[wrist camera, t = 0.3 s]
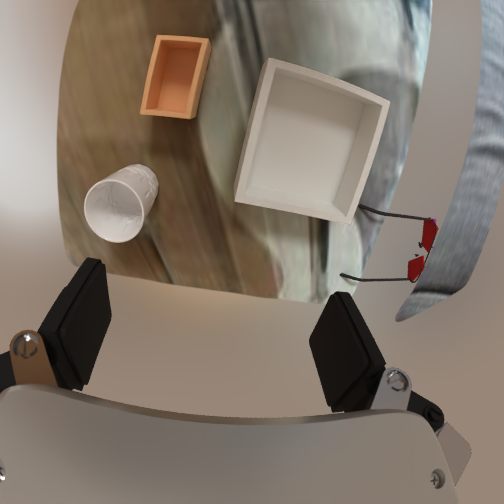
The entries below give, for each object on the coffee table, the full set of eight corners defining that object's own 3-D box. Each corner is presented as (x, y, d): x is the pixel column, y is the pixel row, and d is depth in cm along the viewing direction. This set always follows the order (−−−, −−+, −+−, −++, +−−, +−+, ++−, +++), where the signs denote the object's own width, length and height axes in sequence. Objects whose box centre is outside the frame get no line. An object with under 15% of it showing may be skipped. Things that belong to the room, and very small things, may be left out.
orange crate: (168, 44, 26) (157, 35, 21) (211, 48, 27) (208, 38, 22) (153, 112, 31) (140, 114, 26) (196, 116, 32) (189, 119, 27)
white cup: (170, 201, 38) (154, 233, 30) (125, 216, 39) (100, 249, 30) (152, 152, 34) (128, 169, 26) (106, 170, 34) (74, 193, 26)
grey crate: (262, 64, 29) (269, 57, 24) (369, 100, 32) (390, 101, 27) (233, 186, 38) (234, 201, 33) (335, 208, 41) (349, 225, 36)
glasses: (406, 273, 50) (418, 288, 46) (338, 274, 48) (348, 291, 44) (428, 212, 43) (444, 224, 39) (357, 203, 41) (371, 215, 37)
